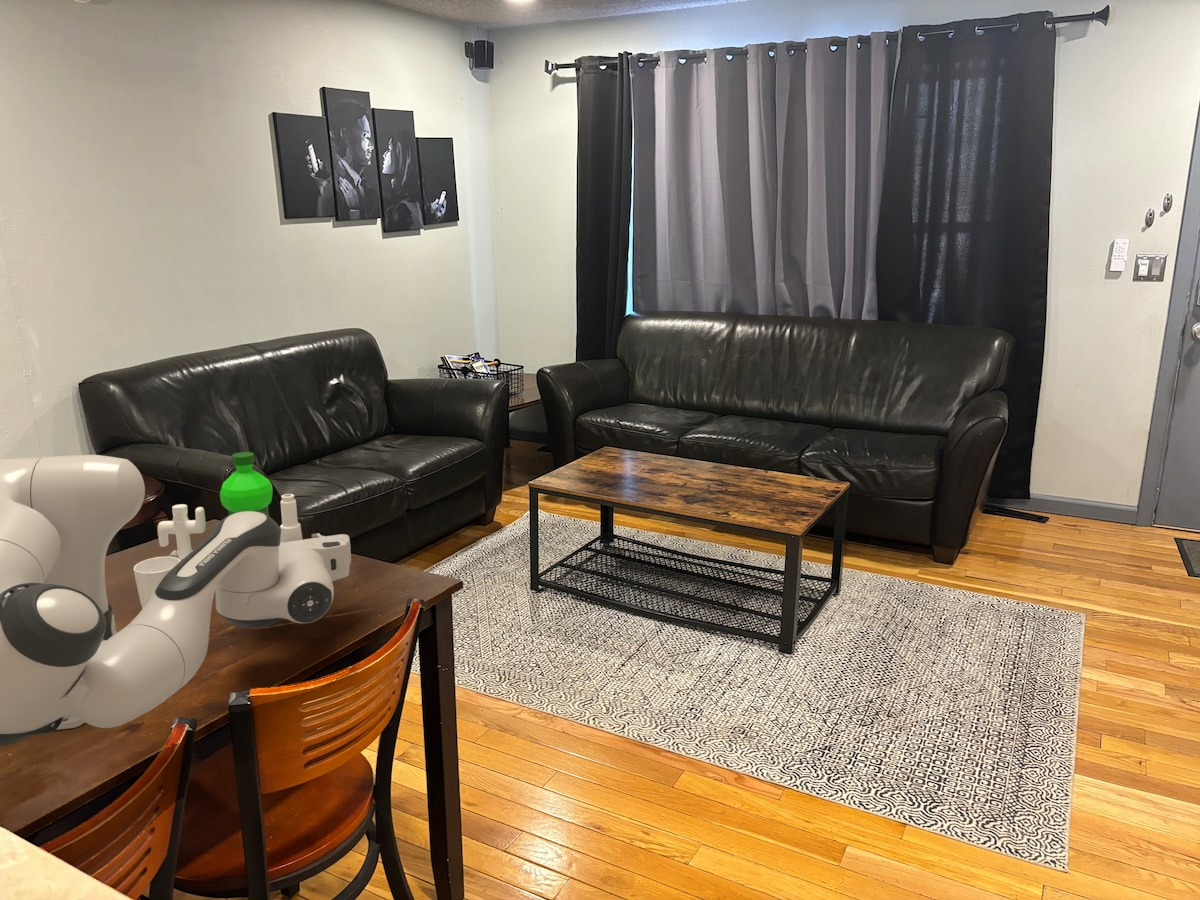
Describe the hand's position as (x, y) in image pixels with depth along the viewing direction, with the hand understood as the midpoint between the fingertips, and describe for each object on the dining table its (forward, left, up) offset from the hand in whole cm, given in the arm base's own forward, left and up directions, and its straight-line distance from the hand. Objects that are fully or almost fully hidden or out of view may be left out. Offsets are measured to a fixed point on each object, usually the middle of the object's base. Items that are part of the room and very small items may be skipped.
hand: (289, 540), depth 163 cm
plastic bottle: (-6, +23, -14) cm, 28 cm away
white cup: (-23, +6, -14) cm, 28 cm away
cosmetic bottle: (0, 0, -13) cm, 13 cm away
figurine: (-19, +25, -14) cm, 34 cm away
